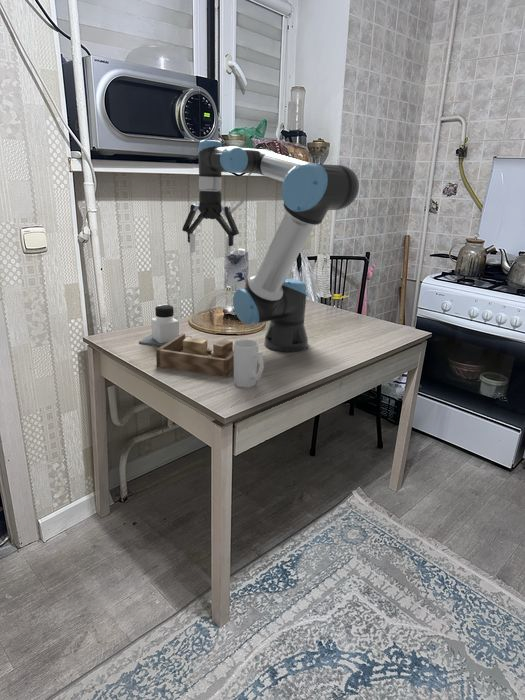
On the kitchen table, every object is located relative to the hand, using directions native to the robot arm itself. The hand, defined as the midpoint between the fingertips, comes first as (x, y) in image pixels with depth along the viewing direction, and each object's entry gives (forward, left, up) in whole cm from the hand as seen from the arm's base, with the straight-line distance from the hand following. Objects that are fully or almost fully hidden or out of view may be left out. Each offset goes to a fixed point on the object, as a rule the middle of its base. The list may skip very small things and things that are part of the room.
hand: (210, 253), depth 168 cm
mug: (-29, +40, -29) cm, 57 cm away
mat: (+10, +16, -29) cm, 34 cm away
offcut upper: (-15, +25, -26) cm, 39 cm away
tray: (-10, +29, -29) cm, 42 cm away
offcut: (-5, +24, -29) cm, 38 cm away
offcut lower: (-15, +25, -29) cm, 41 cm away
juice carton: (0, -27, -29) cm, 40 cm away
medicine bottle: (+10, +16, -28) cm, 34 cm away
